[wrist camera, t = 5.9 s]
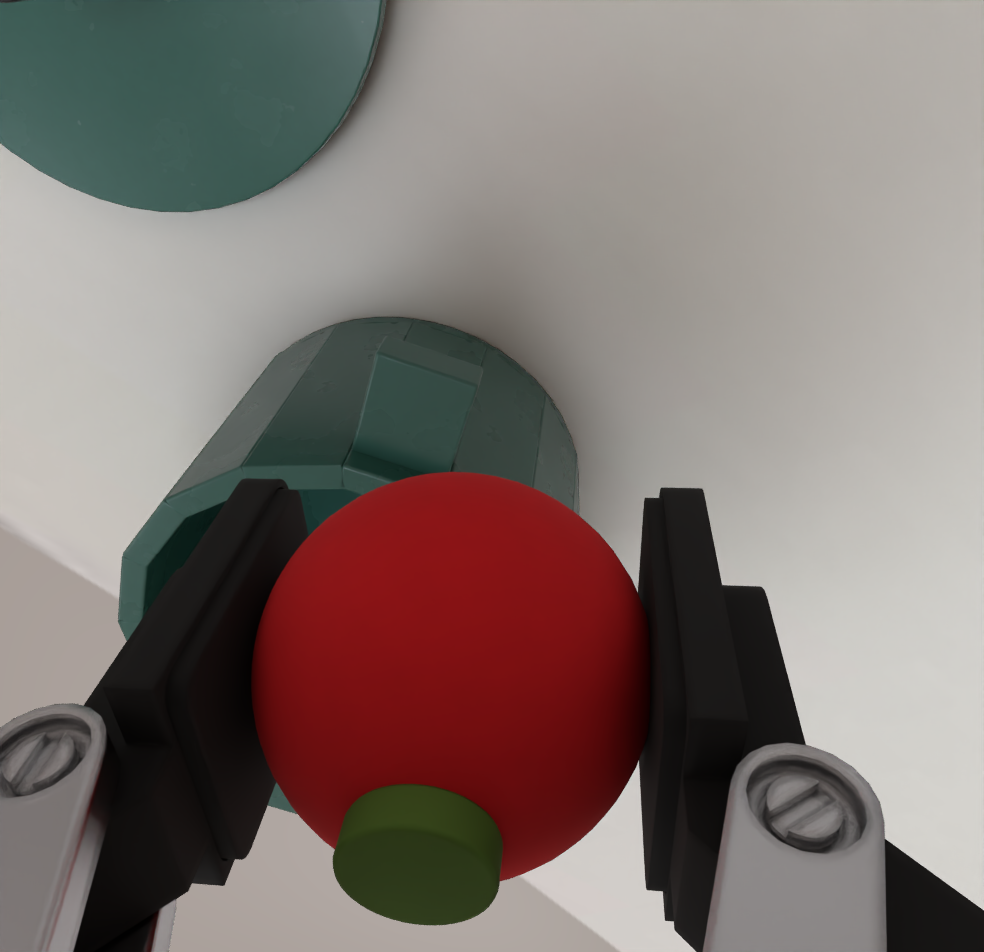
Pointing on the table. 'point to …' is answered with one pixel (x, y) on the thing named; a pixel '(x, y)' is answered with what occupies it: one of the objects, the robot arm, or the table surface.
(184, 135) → the lid
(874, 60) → the table surface
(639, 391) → the table surface
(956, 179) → the table surface
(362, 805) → the berry
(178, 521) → the pot
